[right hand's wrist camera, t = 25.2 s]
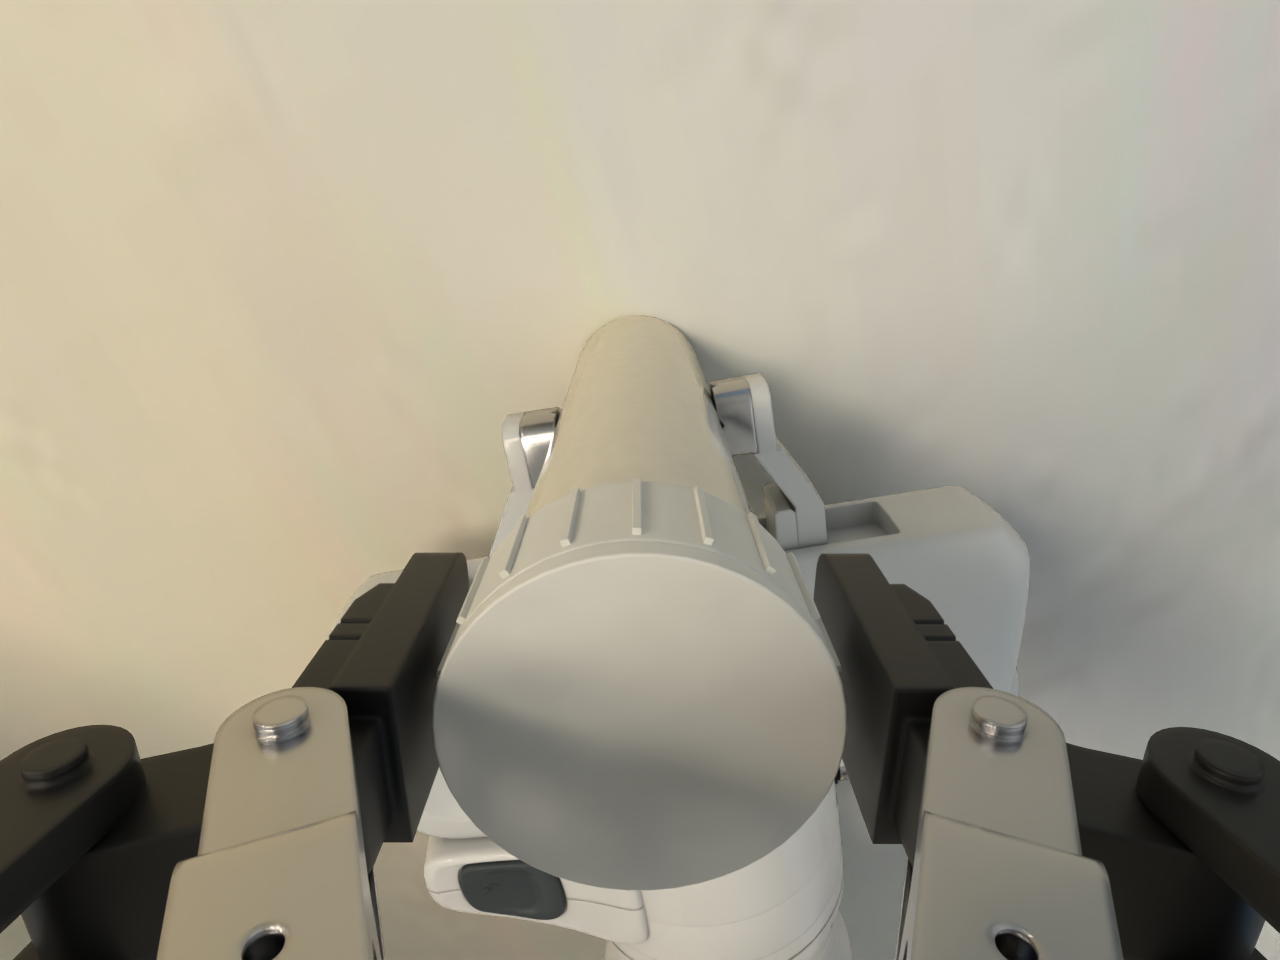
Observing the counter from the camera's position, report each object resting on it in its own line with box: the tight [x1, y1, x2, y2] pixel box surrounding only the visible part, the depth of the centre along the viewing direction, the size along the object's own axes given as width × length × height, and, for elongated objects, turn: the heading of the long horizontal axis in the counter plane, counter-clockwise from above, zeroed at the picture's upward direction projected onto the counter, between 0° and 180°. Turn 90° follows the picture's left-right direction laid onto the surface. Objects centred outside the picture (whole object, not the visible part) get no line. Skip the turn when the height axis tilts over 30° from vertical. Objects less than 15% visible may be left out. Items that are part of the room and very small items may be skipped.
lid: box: [432, 478, 847, 890], centre depth 10 cm, size 5×5×2 cm
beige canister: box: [525, 316, 752, 518], centre depth 18 cm, size 4×4×18 cm
